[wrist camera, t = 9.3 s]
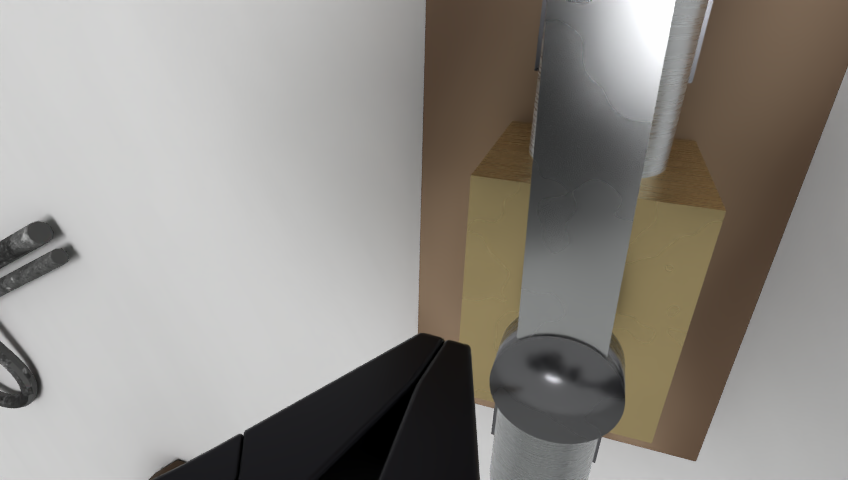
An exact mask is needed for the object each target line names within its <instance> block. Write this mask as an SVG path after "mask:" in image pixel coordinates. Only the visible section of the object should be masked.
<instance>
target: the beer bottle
mask: <svg viewBox="0 0 848 480" xmlns="http://www.w3.org/2000/svg"><path fill="white" fill-rule="evenodd" d="M184 463H186V462H183V461H180V460H177V461H175V462H173V463H171V464H170V465H168V466H166V467H165V468H163V469H161V470H160V471H158V472H156V473H155V474H154V475H153V476H152V477H151V478H150V479H149V480H152V479H154V478H156V477H158V476H160V475H162V474H164V473H166V472H168V471H170V470H172V469H174V468H177V467H179V466H180V465H182V464H184Z"/></svg>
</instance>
